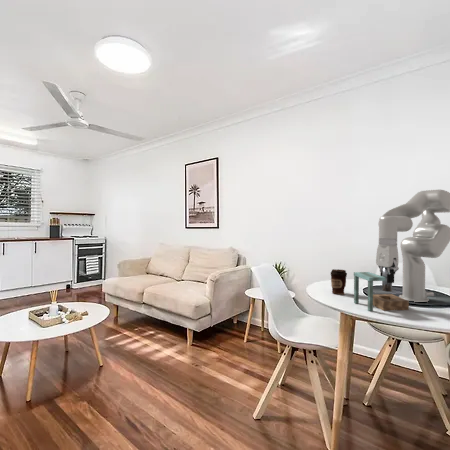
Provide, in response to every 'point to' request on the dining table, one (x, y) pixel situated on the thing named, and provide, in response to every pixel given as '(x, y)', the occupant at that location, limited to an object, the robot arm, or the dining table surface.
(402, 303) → the socket station
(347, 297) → the dining table surface
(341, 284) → the coffee cup
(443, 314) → the dining table surface
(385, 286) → the peg
